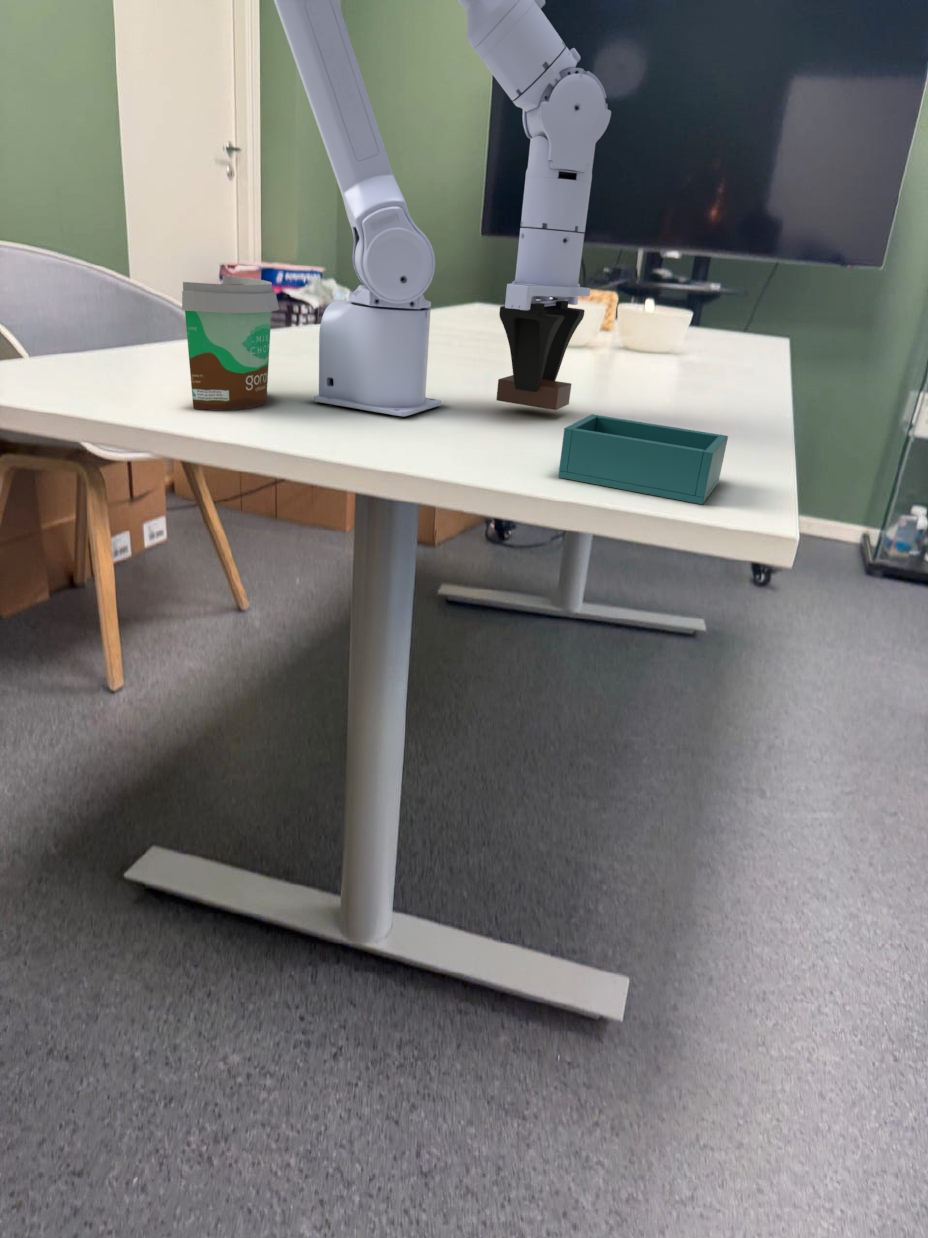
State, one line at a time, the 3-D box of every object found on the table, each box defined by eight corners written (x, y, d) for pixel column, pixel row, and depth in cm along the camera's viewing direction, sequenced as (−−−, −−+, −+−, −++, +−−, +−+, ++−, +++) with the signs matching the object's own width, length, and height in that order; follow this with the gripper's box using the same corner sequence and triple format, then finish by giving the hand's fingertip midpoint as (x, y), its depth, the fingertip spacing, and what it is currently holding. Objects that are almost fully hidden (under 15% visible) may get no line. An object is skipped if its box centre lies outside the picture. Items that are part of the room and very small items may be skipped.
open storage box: (557, 477, 60) (564, 428, 59) (585, 459, 66) (591, 413, 64) (702, 504, 57) (713, 452, 55) (718, 483, 62) (728, 435, 61)
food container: (262, 418, 70) (259, 288, 66) (187, 411, 70) (180, 281, 66) (292, 392, 81) (292, 280, 77) (228, 387, 81) (224, 274, 77)
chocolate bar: (496, 400, 81) (498, 378, 80) (511, 395, 84) (513, 374, 83) (555, 410, 79) (558, 388, 78) (568, 404, 82) (571, 383, 81)
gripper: (570, 230, 68) (549, 403, 73) (617, 237, 80) (596, 384, 85) (489, 223, 70) (474, 391, 76) (546, 230, 82) (530, 374, 88)
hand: (534, 387), depth 81 cm, fingers closed on chocolate bar, 4 cm apart
